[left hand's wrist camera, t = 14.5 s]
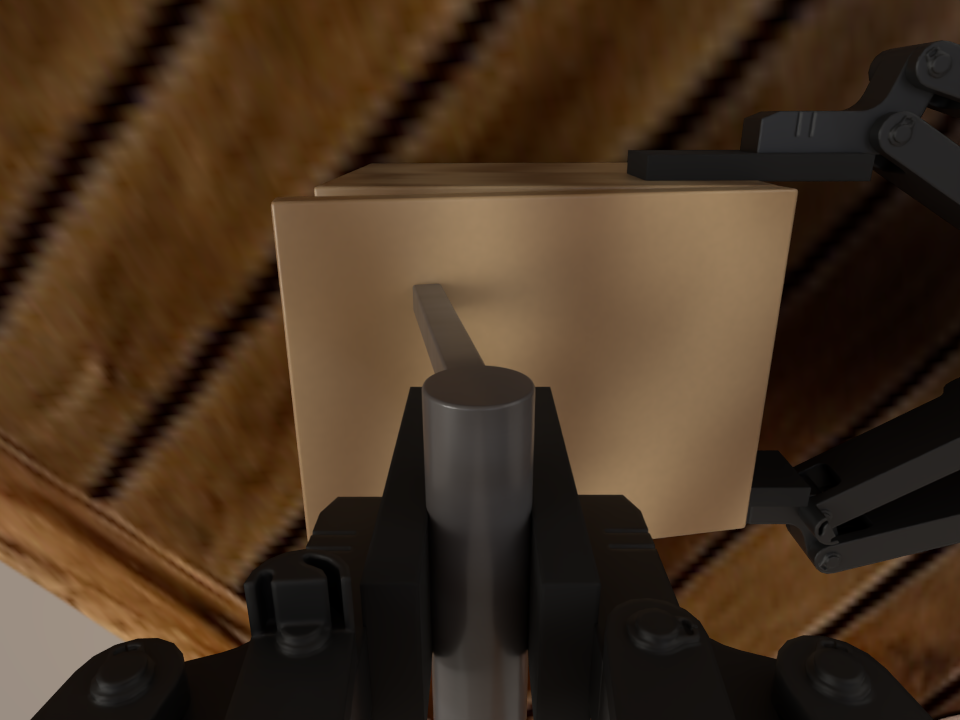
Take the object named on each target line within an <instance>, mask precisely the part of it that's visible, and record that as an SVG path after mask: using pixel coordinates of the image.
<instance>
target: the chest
mask: <svg viewBox="0 0 960 720" xmlns="http://www.w3.org/2000/svg"><path fill="white" fill-rule="evenodd" d="M739 186H777V185H775V184H770V183H766V182H762V181H757V180H740V181H645V180H642V179H640V178H637V177H635V176H632V175H629V174H627V163H372V164H369V165H367V166H365V167H363V168H360V169H358V170H355V171H353V172H350V173H348V174H346V175H343V176H341V177H338V178H336V179H333V180H331V181H329V182H326V183H324V184H321V185H319V186H316V187H315V188H314V194H315V196H355V195H398V194H441V193H483V192H526V191H568V190H611V189H653V188H696V187H739Z"/></svg>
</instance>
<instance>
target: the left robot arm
mask: <svg viewBox="0 0 960 720" xmlns="http://www.w3.org/2000/svg"><path fill="white" fill-rule="evenodd" d="M244 589H245V595H246V602H247V609H248V615H249V622H250V628H251V635H252V637H251V640H250V641H249V642H247V643H245V644H243V645H241V646H239V647H237V648H234V649H231V650H228V651H225V652H222V653H218V654H214V655H210V656H206V657H202V658H198V659H194V660H190V661H186V662H184V657H183V653H182V652H181V651H180V650H179V649H178V648H177V646H176V645H175V644H174V643H171V642H168V641H165V640H162V639H159V638H143V639H135V640H131V641H128V642H124V643H120V644H117V645H114V646H112V647H110V648H108V649H107V650H105V651H103V652H101V653H99V654H97V655H95V656H93V657H92V658H91V659H90V660H88V661H87V662H86V663H85V664H84V665H83V666H81V667H80V668H79V669H78V670H77V671H75V672H74V673H73V675H72V676H71V677H70V678H69V679H68V680H67V681H66V682H65V683H64V684H63V685H62V686H61V688H60V689H59V690H58V691H57V692H56V693H55V694H54V695H53V696H52V697H51V698H50V699H49V700H48V702H47V703H46V704H45V705H44V706H43V707H42V708H41V709H40V710H39V711H38V712H37V713H36V714H35V715H34V717H33V718H32V719H31V720H427V712H428V701H429V689H430V678H431V667H432V655H433V644H432V613H431V582H430V551H429V520H428V511H427V508H426V494H425V467H424V440H423V413H422V387H410V390H409V394H408V398H407V401H406V405H405V409H404V413H403V417H402V421H401V425H400V429H399V433H398V437H397V441H396V445H395V448H394V452H393V456H392V460H391V464H390V468H389V472H388V476H387V480H386V484H385V488H384V491H383V495H382V497H337V498H336V499H335V500H334V501H333V502H331V503H330V504H329V505H328V506H327V507H326V508H325V509H324V510H323V511H321V512H320V514H319V516H318V519H317V521H316V524H315V526H314V529H313V531H312V535H311V536H310V539H309V541H308V544H307V546H306V549H303V550H297V551H291V552H286V553H283V554H281V555H278V556H276V557H273V558H271V559H268V560H267V561H265V562H264V563H263V564H261V565H260V566H259V567H257V568H256V569H255V570H253V571H252V573H251V574H250V576H249V577H248V579H247V580H246V582H245V583H244ZM528 660H529V671H530V683H531V694H532V706H533V717H534V720H590V718H591V720H934V719H933V718H932V717H931V716H930V715H929V714H928V713H927V712H926V711H925V710H924V709H923V708H922V707H921V705H920V704H919V703H918V702H917V701H916V700H915V699H914V698H913V697H912V696H911V695H910V694H909V693H908V692H907V691H906V689H905V688H904V687H903V686H902V685H901V684H900V683H899V682H898V681H897V680H896V679H895V678H894V677H893V676H892V674H891V673H890V672H889V671H888V670H887V669H886V668H885V667H883V666H882V665H881V664H880V663H879V662H877V661H876V660H875V659H874V658H873V657H871V656H870V655H869V654H868V653H866V652H864V651H862V650H860V649H858V648H856V647H854V646H852V645H850V644H848V643H846V642H843V641H840V640H836V639H833V638H829V637H825V636H807V635H803V636H800V637H797V638H794V639H791V640H788V641H787V642H786V643H785V644H784V645H783V646H782V647H781V649H780V650H779V651H778V655H777V659H774V658H770V657H766V656H761V655H757V654H753V653H749V652H745V651H741V650H738V649H735V648H732V647H728V646H725V645H723V644H721V643H719V642H717V641H715V640H713V639H711V638H709V636H708V634H707V633H706V631H705V629H704V628H703V626H702V624H701V623H700V621H699V620H697V619H696V618H695V617H694V616H693V615H691V614H690V613H689V612H688V611H687V610H685V609H683V608H681V607H680V606H679V604H678V601H677V599H676V596H675V594H674V592H673V589H672V587H671V584H670V582H669V579H668V577H667V574H666V572H665V569H664V567H663V564H662V562H661V559H660V557H659V554H658V552H657V549H655V545H654V542H653V540H652V537H651V535H650V533H649V532H648V527H647V525H646V522H645V520H644V517H643V515H642V512H641V510H639V509H638V508H637V507H636V506H635V505H634V504H633V503H632V502H631V501H629V500H628V499H627V498H626V497H625V496H624V495H578V493H577V489H576V485H575V481H574V477H573V473H572V469H571V465H570V462H569V458H568V454H567V450H566V446H565V442H564V438H563V434H562V430H561V426H560V422H559V419H558V415H557V411H556V407H555V403H554V399H553V395H552V391H551V387H535V426H534V462H533V499H532V518H531V552H530V585H529V618H528Z"/></svg>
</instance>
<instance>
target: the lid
mask: <svg viewBox="0 0 960 720" xmlns="http://www.w3.org/2000/svg"><path fill="white" fill-rule="evenodd" d="M797 195H798V190H797V189H795V188H789V187H783V186H739V187H696V188H653V189H611V190H568V191H526V192H483V193H441V194H398V195H355V196H313V197H278V198H275V199H274V201H273V202H272V203H271V212H272V221H273V230H274V239H275V248H276V257H277V266H278V275H279V284H280V293H281V302H282V311H283V320H284V330H285V339H286V348H287V357H288V366H289V375H290V384H291V393H292V402H293V411H294V420H295V429H296V438H297V447H298V456H299V465H300V474H301V483H302V492H303V502H304V511H305V520H306V529H307V538H308V541H309V539H310V536H311V535H312V531H313V529H314V526H315V524H316V521H317V519H318V516H319V514H320V512H321V511H323V510H324V509H325V508H326V507H327V506H328V505H329V504H330V503H331V502H333V501H334V500H335V499H336V498H337V497H382V495H383V491H384V488H385V484H386V480H387V476H388V472H389V468H390V464H391V460H392V456H393V452H394V448H395V445H396V441H397V437H398V433H399V429H400V425H401V421H402V417H403V413H404V409H405V405H406V401H407V398H408V394H409V390H410V387H422V413H423V440H424V467H425V494H426V508H427V511H428V520H429V551H430V582H431V613H432V644H433V655H432V684H433V711H434V720H526V718H527V681H528V618H529V585H530V552H531V518H532V499H533V462H534V426H535V387H551V391H552V395H553V399H554V403H555V407H556V411H557V415H558V419H559V422H560V426H561V430H562V434H563V438H564V442H565V446H566V450H567V454H568V458H569V462H570V465H571V469H572V473H573V477H574V481H575V485H576V489H577V493H578V495H624V496H625V497H626V498H627V499H628V500H629V501H631V502H632V503H633V504H634V505H635V506H636V507H637V508H638V509H639V510H641V512H642V515H643V517H644V520H645V522H646V525H647V527H648V532H649V533H650V535H651V537H652V539H656V538H664V537H672V536H681V535H689V534H697V533H706V532H714V531H722V530H731V529H739V528H744V527H745V525H746V518H747V512H748V506H749V499H750V493H751V487H752V480H753V474H754V468H755V461H756V455H757V449H758V442H759V436H760V430H761V423H762V417H763V411H764V404H765V398H766V392H767V385H768V379H769V373H770V366H771V360H772V354H773V347H774V341H775V335H776V328H777V322H778V316H779V309H780V303H781V297H782V290H783V284H784V278H785V271H786V265H787V259H788V252H789V246H790V240H791V233H792V227H793V221H794V214H795V208H796V202H797Z"/></svg>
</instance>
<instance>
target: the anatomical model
mask: <svg viewBox="0 0 960 720" xmlns="http://www.w3.org/2000/svg"><path fill="white" fill-rule="evenodd" d="M940 720H960V715H955V716H950V717H946V718H943V719H940Z"/></svg>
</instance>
